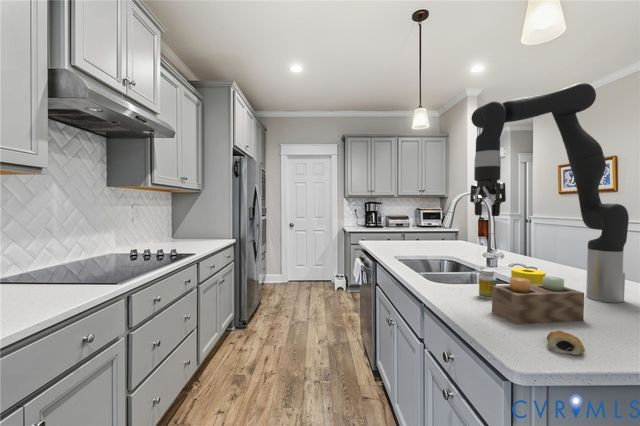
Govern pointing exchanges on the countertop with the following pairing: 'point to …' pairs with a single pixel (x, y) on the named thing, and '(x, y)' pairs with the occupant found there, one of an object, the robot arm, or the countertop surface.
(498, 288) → the wooden compartment box
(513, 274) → the tape roll
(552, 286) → the sage button
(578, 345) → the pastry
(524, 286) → the orange button
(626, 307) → the countertop surface
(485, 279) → the supplement bottle
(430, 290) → the countertop surface
